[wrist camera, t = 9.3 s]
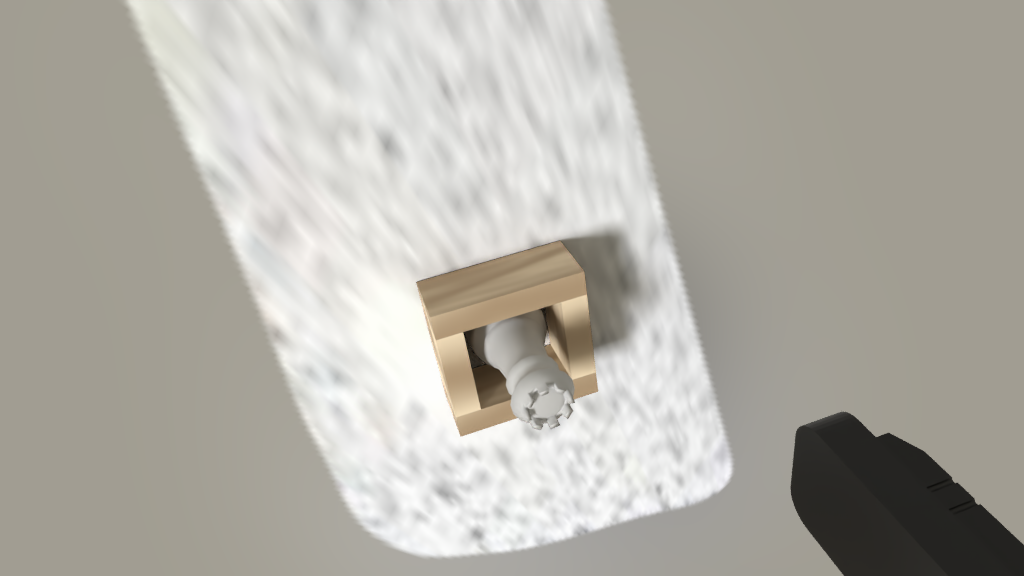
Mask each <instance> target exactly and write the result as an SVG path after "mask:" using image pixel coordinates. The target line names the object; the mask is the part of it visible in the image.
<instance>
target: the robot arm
mask: <svg viewBox="0 0 1024 576" xmlns="http://www.w3.org/2000/svg"><path fill="white" fill-rule="evenodd" d="M791 496H792V500H793V503H794V506H795V509H796V511H797V513H798V515H799V517H800V519H801V521H802V522H803V524H804V525H805V527H806V528H807V529H808V530H809V532H810V533H811V534H812V535H813V537H814V538H815V539H816V541H817V542H818V543H819V544H820V546H821V547H822V548H823V550H824V551H825V552H826V553H827V554H828V556H829V557H830V558H831V560H832V561H833V562H834V564H835V565H836V566H837V567H838V569H839V570H840V571H841V572H842V574H843V575H844V576H1024V545H1023V544H1022V543H1021V542H1020V541H1019V540H1018V539H1017V538H1016V537H1015V536H1014V535H1013V534H1011V533H1010V532H1009V531H1008V530H1007V529H1006V528H1005V527H1004V526H1003V525H1002V524H1001V523H1000V522H999V521H998V520H997V519H996V518H994V517H993V516H992V515H991V514H990V513H989V512H988V511H987V510H986V509H985V508H984V507H983V506H982V505H977V504H976V503H975V500H974V498H973V497H972V496H971V495H970V494H969V493H968V492H967V491H966V490H965V489H964V488H963V487H962V486H960V485H959V484H958V483H954V482H953V480H952V477H951V476H950V475H949V474H948V473H947V472H946V471H945V470H943V469H942V468H941V467H940V466H939V465H938V464H937V463H936V462H935V461H934V460H933V459H932V458H931V457H930V456H929V455H927V454H926V453H925V452H924V451H923V450H921V449H919V448H917V447H915V446H913V445H911V444H909V443H907V442H905V441H903V440H902V439H899V438H898V437H896V436H894V435H892V434H890V433H887V434H884V435H881V436H879V437H875V436H874V435H873V434H872V433H871V432H870V431H869V430H868V429H867V428H866V427H865V426H864V425H863V424H862V423H861V422H860V421H859V420H858V419H857V418H855V417H854V416H853V415H851V414H849V413H847V412H840V413H837V414H834V415H831V416H828V417H825V418H823V419H820V420H817V421H814V422H811V423H809V424H806V425H803V426H801V427H799V428H798V429H797V431H796V437H795V448H794V458H793V468H792V478H791Z"/></svg>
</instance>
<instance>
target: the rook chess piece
mask: <svg viewBox="0 0 1024 576" xmlns="http://www.w3.org/2000/svg"><path fill="white" fill-rule="evenodd" d="M546 330H547V326H546V321H545V318H544V315H543V312H542V311H541V309H538V310H534V311H531V312H528V313H524V314H521V315H518V316H515V317H511V318H508V319H505V320H501V321H498V322H495V323H492V324H488V325H485V326H482V327H478V328H475V329H472V330H469V331H465V335H466V338H467V340H468V343H469V345H470V346H471V347H472V348H473V351H474V353H475V354H476V355H477V356H478V357H479V358H480V359H481V360H482V361H484V362H485V363H486V364H487V365H491V366H493V367H494V368H497V369H499V370H500V371H501V372H502V374H503V375H504V376H505V378H506V379H507V380H506V387H507V390H508V393H509V394H510V395H512V397H511V404H510V405H511V408H512V411H513V414H514V415H515V416H516V417H518V418H519V419H520V420H521V421H524V422H526V423H530V424H531V426H532V428H534V429H538V430H541V429H542V427H543V424H544V423H548V425H549V427H550V429H552V428H555V427H557V426H559V425H560V424H559V422H558V420H557V419H558V418H559V417H560V416H561V415H562V414H563V416H564V417H566V418H567V419H568V418H569V416H570V415H571V413H572V412H573V410H572V408H571V406H570V404H571V403H575V402H574V398H573V395H574V390H575V387H574V384H573V380H572V378H571V377H570V376H569V375H567V374H566V373H565V372H563V371H560V370H559V367H558V364H557V363H556V362H555V361H554V360H553V359H552V358H551V357H548V355H547V353H546V350H545V347H544V343H545V336H546Z"/></svg>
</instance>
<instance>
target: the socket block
mask: <svg viewBox="0 0 1024 576" xmlns="http://www.w3.org/2000/svg"><path fill="white" fill-rule="evenodd" d="M416 283H417V287H418V291H419V294H420V298H421V302H422V306H423V310H424V314H425V317H426V321H427V325H428V329H429V333H430V336H431V340H432V344H433V348H434V352H435V356H436V359H437V363H438V367H439V371H440V375H441V378H442V382H443V386H444V390H445V394H446V397H447V400H448V403H449V406H450V408H451V411H452V414H453V417H454V419H455V422H456V425H457V428H458V430H459V433H460V436H464V435H467V434H470V433H473V432H476V431H479V430H482V429H485V428H488V427H491V426H494V425H497V424H500V423H504V422H507V421H510V420H513V419H516V418H518V417H516V416H515V415H514V414H513V411H512V408H511V405H510V404H511V397H512V395H510V394H509V393H508V390H507V387H506V380H507V379H506V378H505V376H504V375H503V374H502V372H501V371H500V370H499V369H497V368H494V367H493V366H491V365H487V364H486V365H483V366H480V367H477V368H474V369H472V368H471V364H470V360H469V355H468V351H467V347H466V342H465V338H464V334H463V332H465V331H469V330H472V329H475V328H478V327H482V326H485V325H488V324H492V323H495V322H498V321H501V320H505V319H508V318H511V317H515V316H518V315H521V314H524V313H528V312H531V311H534V310H538V309H541V308H544V307H545V312H546V318H547V325H548V332H549V338H550V345H547V346H544V347H545V350H546V353H547V355H548V357H551V358H552V359H553V360H554V361H555V362H556V363H557V364H558V367H559V370H560V371H563V372H565V373H566V374H567V375H569V376H570V377H571V378H572V380H573V384H574V387H575V390H574V395H573V398H574V399H577V398H580V397H583V396H586V395H589V394H592V393H595V392H598V387H597V378H596V370H595V361H594V352H593V343H592V334H591V326H590V317H589V308H588V299H587V291H586V282H585V273H584V270H583V269H582V268H581V267H580V265H579V264H578V263H577V261H576V260H575V259H574V258H573V256H572V255H571V254H570V253H569V251H568V250H567V249H566V247H565V246H564V245H563V244H562V242H561V241H557V242H553V243H550V244H547V245H543V246H540V247H536V248H533V249H529V250H526V251H522V252H519V253H516V254H512V255H509V256H505V257H502V258H498V259H495V260H491V261H488V262H484V263H481V264H478V265H474V266H471V267H467V268H464V269H460V270H457V271H453V272H450V273H446V274H443V275H440V276H436V277H433V278H429V279H426V280H422V281H419V282H416Z"/></svg>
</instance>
